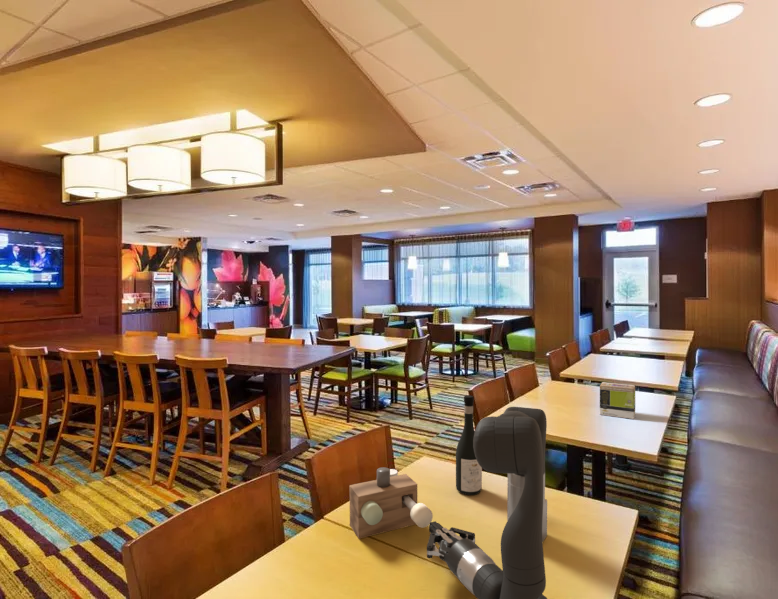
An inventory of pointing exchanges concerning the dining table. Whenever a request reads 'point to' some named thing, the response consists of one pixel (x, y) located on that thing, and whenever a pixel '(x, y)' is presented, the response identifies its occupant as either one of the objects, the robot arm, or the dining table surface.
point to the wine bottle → (467, 455)
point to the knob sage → (371, 512)
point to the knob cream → (418, 512)
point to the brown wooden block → (382, 505)
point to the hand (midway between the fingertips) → (432, 525)
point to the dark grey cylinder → (383, 477)
